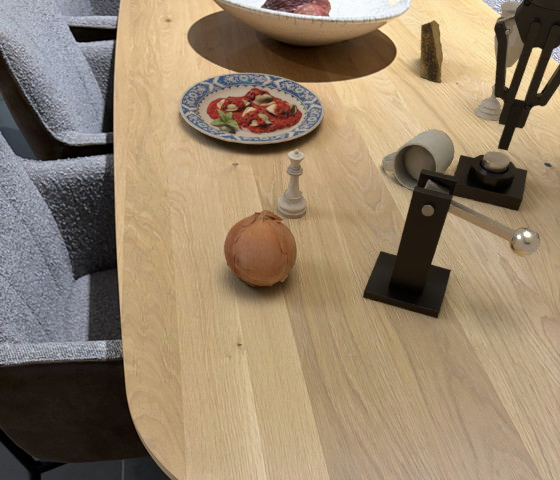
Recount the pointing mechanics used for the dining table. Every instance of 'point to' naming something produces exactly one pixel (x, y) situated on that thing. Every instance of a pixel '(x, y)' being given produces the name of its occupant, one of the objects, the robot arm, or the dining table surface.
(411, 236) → the lever bracket
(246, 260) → the onion
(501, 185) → the push button base
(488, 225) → the flush lever
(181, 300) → the dining table surface
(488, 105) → the chalice
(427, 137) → the ceramic mug
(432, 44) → the rock
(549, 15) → the robot arm
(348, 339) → the dining table surface
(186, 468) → the dining table surface
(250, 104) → the ceramic plate
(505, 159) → the push button
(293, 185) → the chess piece
